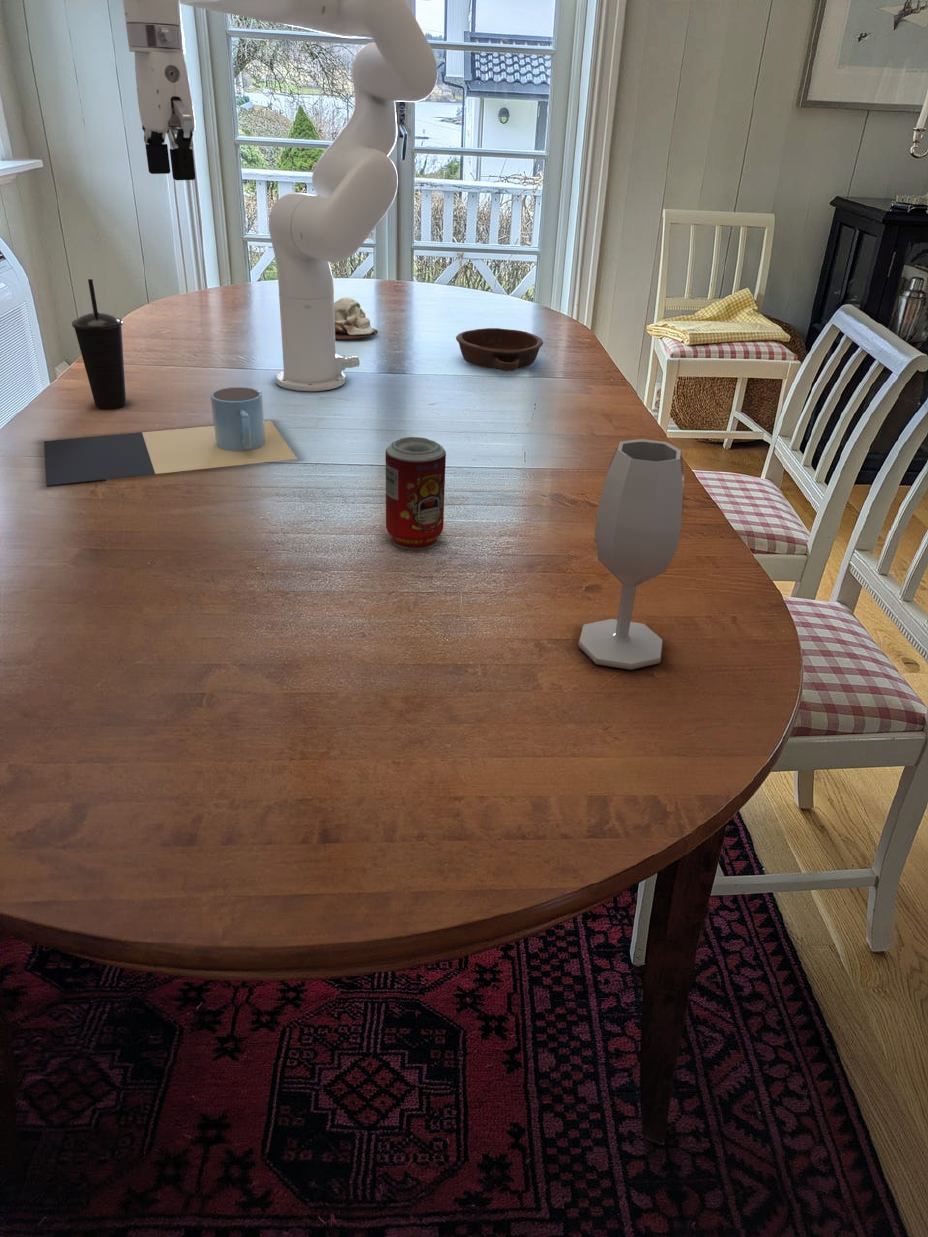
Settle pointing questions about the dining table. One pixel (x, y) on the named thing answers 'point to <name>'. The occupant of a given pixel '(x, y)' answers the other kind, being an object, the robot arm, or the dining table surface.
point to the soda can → (415, 492)
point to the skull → (351, 320)
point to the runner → (151, 454)
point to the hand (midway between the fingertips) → (171, 176)
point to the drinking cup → (102, 355)
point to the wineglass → (635, 544)
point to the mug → (238, 418)
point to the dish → (499, 348)
